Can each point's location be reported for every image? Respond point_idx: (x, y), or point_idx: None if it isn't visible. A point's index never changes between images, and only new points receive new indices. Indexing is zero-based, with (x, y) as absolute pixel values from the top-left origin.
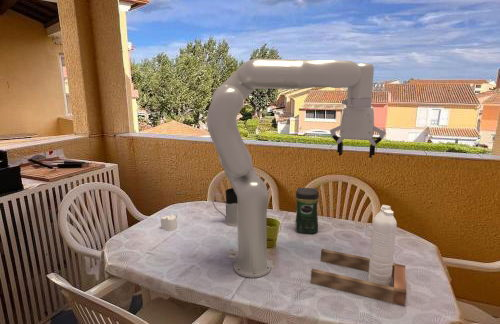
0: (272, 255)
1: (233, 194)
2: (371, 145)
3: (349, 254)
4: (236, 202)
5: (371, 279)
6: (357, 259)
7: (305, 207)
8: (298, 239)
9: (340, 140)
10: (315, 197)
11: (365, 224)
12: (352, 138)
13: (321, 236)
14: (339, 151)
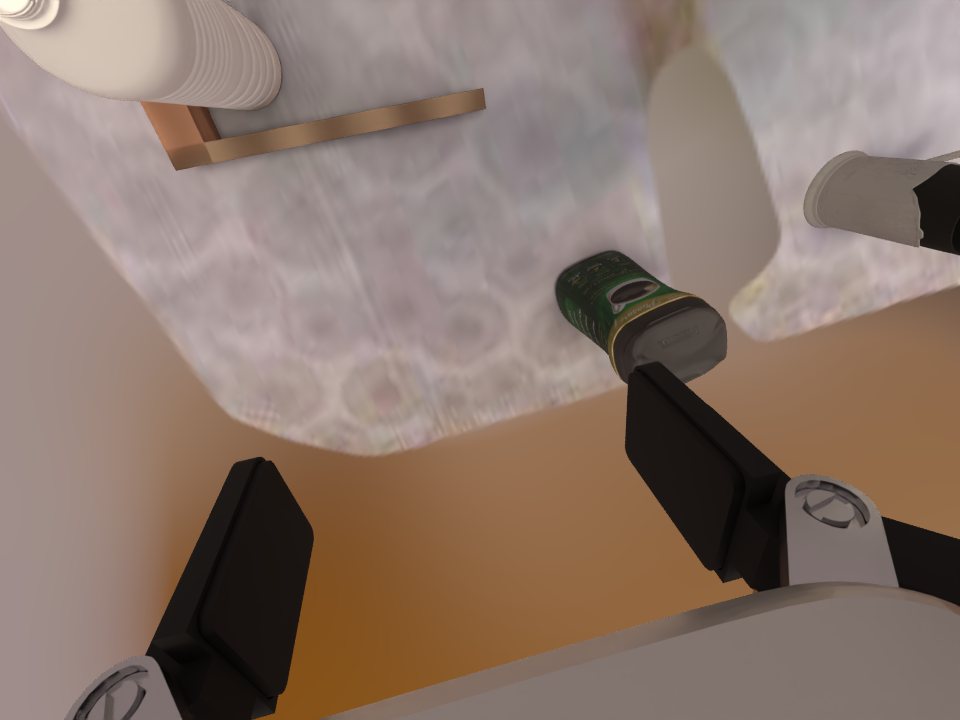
0: (646, 17)
1: None
2: (199, 658)
3: (379, 128)
4: (928, 182)
5: (245, 17)
6: (342, 116)
7: (640, 291)
8: (596, 206)
9: (823, 542)
10: (626, 334)
11: (443, 428)
12: (600, 657)
13: (534, 274)
14: (680, 389)
